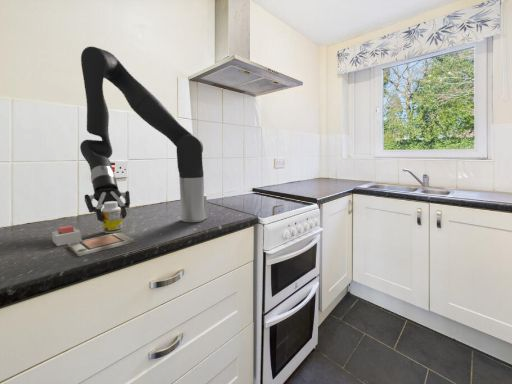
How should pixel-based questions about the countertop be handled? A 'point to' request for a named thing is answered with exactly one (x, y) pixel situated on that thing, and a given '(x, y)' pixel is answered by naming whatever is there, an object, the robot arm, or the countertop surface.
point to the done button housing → (66, 237)
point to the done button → (65, 229)
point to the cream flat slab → (99, 243)
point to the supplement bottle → (112, 217)
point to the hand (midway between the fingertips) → (113, 218)
